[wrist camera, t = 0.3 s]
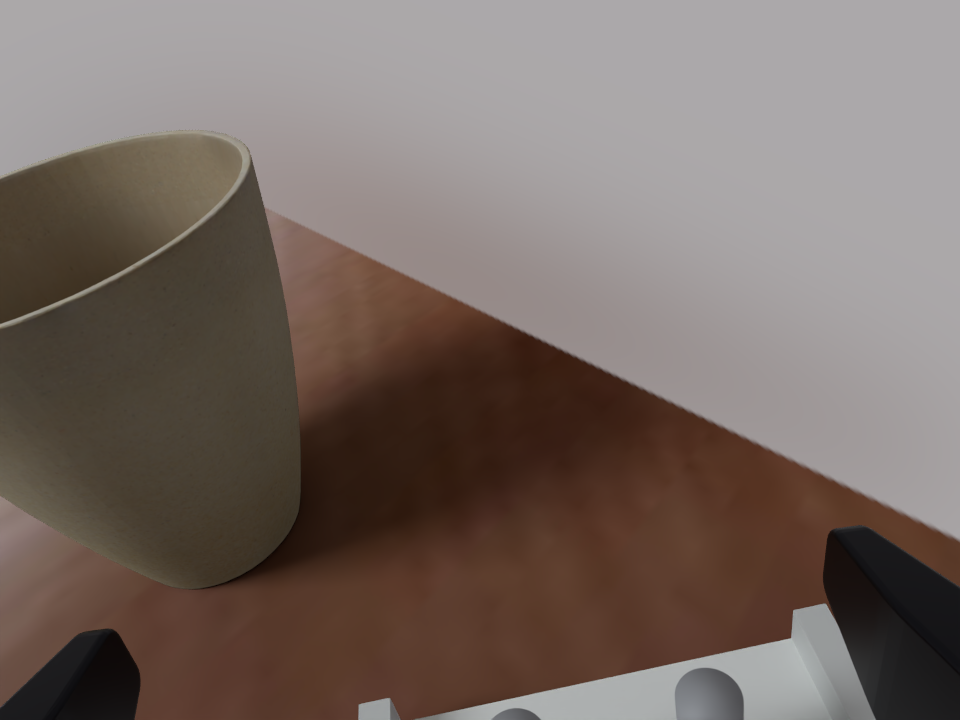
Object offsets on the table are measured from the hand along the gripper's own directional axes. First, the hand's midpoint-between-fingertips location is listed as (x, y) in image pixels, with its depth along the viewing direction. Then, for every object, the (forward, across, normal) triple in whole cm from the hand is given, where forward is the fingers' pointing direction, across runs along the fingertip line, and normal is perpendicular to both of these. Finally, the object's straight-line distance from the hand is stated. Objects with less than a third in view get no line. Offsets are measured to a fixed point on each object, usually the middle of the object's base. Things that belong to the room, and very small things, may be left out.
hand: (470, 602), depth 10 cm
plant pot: (+20, +13, +16) cm, 29 cm away
